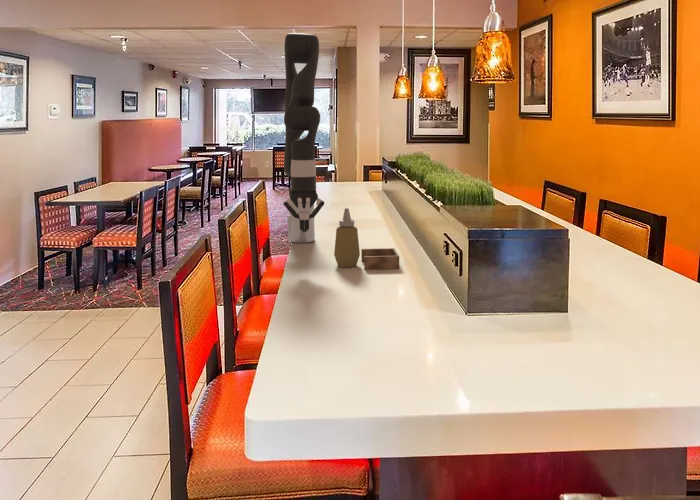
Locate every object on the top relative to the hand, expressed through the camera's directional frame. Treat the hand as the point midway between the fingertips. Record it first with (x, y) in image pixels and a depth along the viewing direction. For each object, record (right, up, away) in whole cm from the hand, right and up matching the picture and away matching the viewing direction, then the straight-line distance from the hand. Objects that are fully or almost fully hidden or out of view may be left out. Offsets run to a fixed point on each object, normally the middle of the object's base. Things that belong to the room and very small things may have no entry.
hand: (304, 231), depth 182 cm
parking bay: (+23, -10, +4) cm, 25 cm away
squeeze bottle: (+13, -11, +3) cm, 17 cm away
